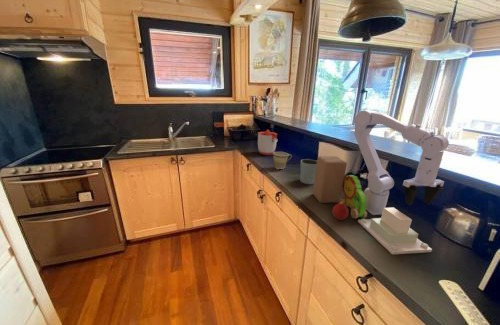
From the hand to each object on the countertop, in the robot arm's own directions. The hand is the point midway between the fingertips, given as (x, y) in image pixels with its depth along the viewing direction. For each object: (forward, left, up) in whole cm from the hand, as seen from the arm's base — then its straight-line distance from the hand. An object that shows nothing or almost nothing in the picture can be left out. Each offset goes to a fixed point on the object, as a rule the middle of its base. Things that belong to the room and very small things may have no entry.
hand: (417, 203), depth 79 cm
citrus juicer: (-103, -36, -10) cm, 110 cm away
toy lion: (-13, -17, -10) cm, 24 cm away
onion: (-6, -26, -10) cm, 29 cm away
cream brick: (+5, -12, -6) cm, 14 cm away
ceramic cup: (-68, -33, -10) cm, 77 cm away
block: (-24, -23, -10) cm, 35 cm away
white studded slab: (+5, -12, -10) cm, 16 cm away
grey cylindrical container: (-45, -24, -10) cm, 52 cm away
